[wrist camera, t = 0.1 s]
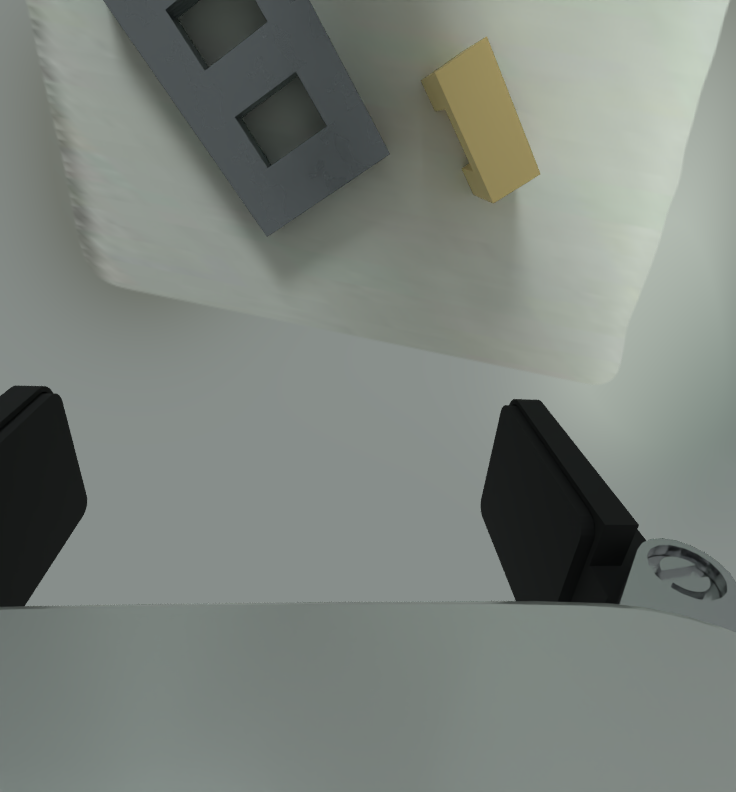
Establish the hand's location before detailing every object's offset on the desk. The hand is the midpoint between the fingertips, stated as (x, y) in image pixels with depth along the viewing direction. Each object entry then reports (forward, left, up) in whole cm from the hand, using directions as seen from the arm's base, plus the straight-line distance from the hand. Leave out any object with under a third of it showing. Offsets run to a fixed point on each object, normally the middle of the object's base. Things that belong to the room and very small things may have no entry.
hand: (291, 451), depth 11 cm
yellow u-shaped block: (+1, +14, -37) cm, 40 cm away
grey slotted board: (-11, +1, -37) cm, 39 cm away
